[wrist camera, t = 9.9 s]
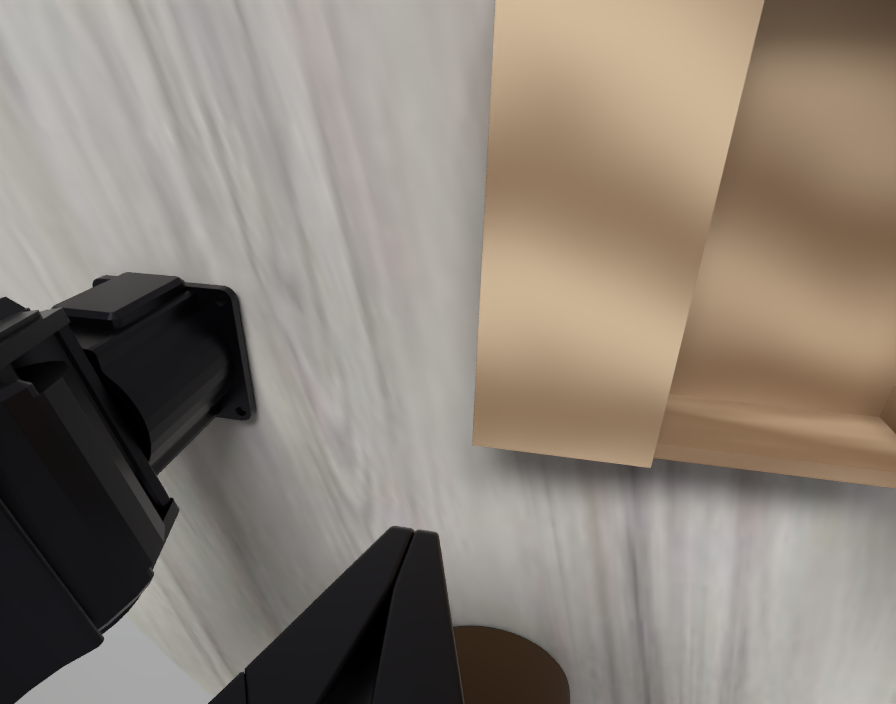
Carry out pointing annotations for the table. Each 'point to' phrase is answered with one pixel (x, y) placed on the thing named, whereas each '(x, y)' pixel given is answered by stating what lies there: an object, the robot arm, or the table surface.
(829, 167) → the wooden box
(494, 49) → the flap
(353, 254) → the table surface
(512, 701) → the olive oil
